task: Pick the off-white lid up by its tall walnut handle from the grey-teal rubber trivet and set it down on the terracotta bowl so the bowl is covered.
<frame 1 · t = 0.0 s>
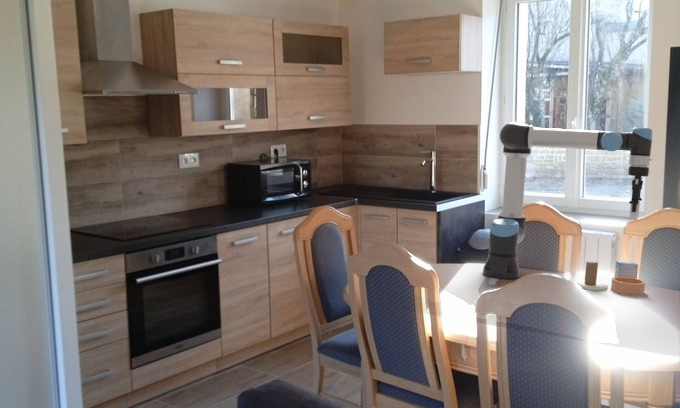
hand: (633, 218, 282), 28 cm above the table, fingers open, 13 cm apart
trivet: (589, 287, 279), on the table
lid: (589, 286, 279), point 1 cm above the table, touching trivet
bowl: (627, 292, 273), on the table
medicine box: (624, 283, 291), on the table
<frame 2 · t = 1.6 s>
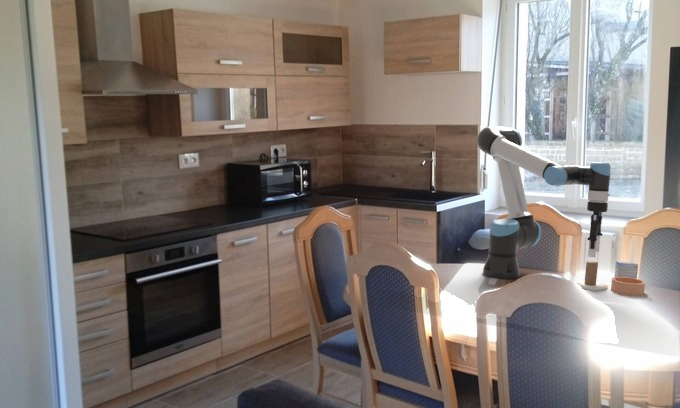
hand: (593, 254, 277), 14 cm above the table, fingers open, 13 cm apart
nothing on the table moved.
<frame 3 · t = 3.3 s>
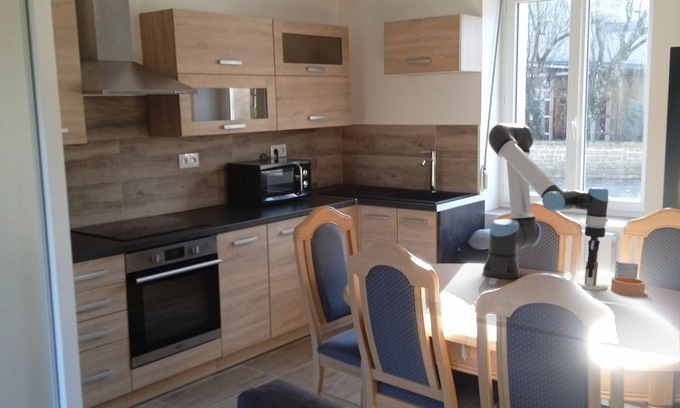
hand: (590, 283, 278), 2 cm above the table, fingers closed on lid, 4 cm apart
lid: (589, 286, 279), point 1 cm above the table, touching gripper, trivet
everything else where it was.
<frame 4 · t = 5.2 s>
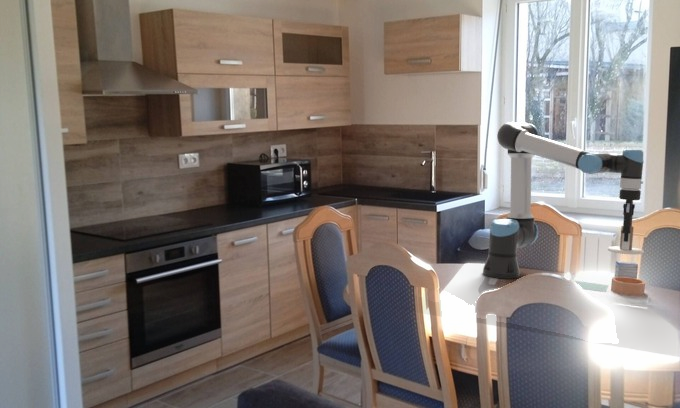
hand: (625, 248, 271), 18 cm above the table, fingers closed on lid, 4 cm apart
lid: (625, 251, 271), point 16 cm above the table, touching gripper
everything else where it was.
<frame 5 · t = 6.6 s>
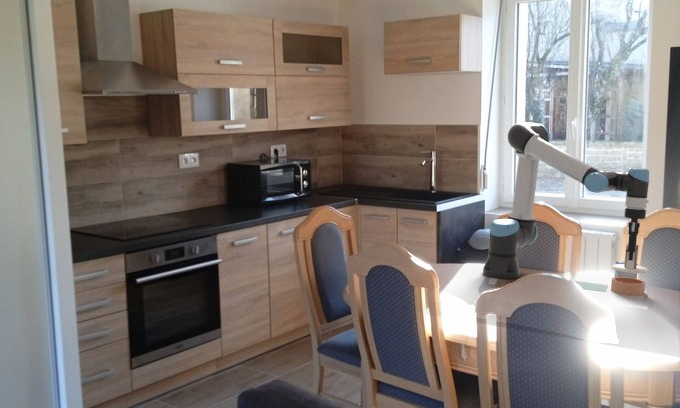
hand: (630, 267, 271), 10 cm above the table, fingers closed on lid, 4 cm apart
lid: (630, 269, 271), point 9 cm above the table, touching gripper
everything else where it was.
when the fingers open (7 cm above the table, at t = 7.4 s): lid drops 1 cm, resting on bowl.
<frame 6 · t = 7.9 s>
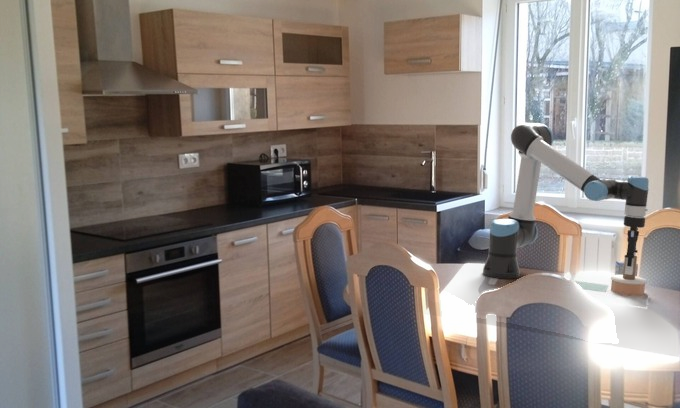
hand: (629, 271, 272), 9 cm above the table, fingers open, 11 cm apart
lid: (628, 280, 272), point 5 cm above the table, touching bowl
everything else where it was.
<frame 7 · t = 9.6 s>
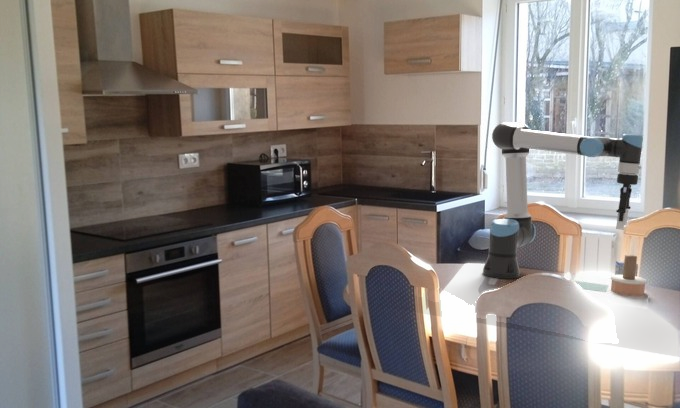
hand: (621, 227, 275), 25 cm above the table, fingers open, 13 cm apart
nothing on the table moved.
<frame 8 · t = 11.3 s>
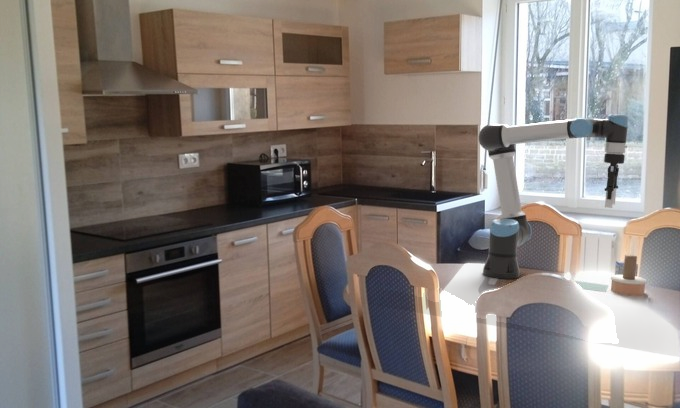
hand: (609, 205, 281), 33 cm above the table, fingers open, 13 cm apart
nothing on the table moved.
at the end: lid 0.0 cm from the bowl (horizontally); lid 0.0 cm off-centre on the bowl, point 5.0 cm above the bowl's base; lid tilted 0° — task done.
